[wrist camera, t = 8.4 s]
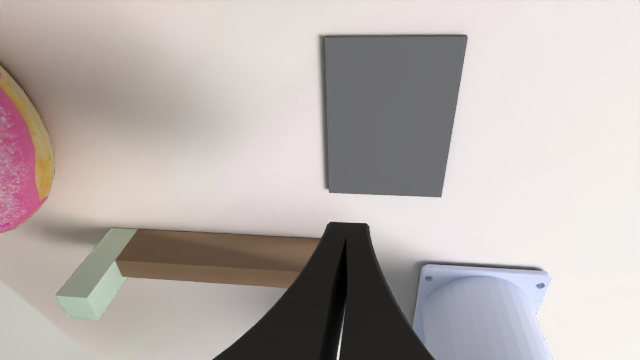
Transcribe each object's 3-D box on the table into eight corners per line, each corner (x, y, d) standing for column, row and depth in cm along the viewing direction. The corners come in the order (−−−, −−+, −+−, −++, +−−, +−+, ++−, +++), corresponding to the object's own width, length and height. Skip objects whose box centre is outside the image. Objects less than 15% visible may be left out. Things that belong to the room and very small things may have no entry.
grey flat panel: (440, 194, 23) (441, 197, 23) (329, 189, 24) (329, 192, 24) (466, 35, 18) (467, 36, 18) (325, 36, 19) (324, 37, 19)
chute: (338, 261, 27) (330, 339, 23) (120, 248, 29) (68, 317, 24) (333, -122, 16) (314, -135, 11) (-31, -103, 18) (-189, -107, 13)
